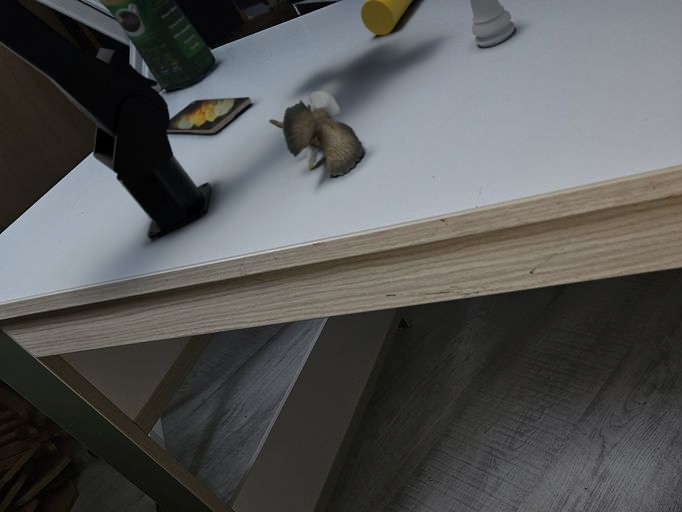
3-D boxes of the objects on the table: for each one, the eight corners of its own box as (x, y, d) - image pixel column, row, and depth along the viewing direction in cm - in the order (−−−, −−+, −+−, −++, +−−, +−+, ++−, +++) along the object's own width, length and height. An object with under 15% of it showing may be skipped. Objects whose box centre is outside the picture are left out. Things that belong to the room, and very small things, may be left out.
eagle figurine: (269, 163, 69) (281, 176, 61) (268, 86, 66) (280, 90, 59) (346, 166, 72) (366, 179, 64) (347, 92, 69) (368, 96, 61)
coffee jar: (226, 59, 109) (148, -66, 97) (197, 86, 104) (111, -42, 92) (186, 70, 114) (107, -47, 102) (157, 96, 109) (70, -24, 97)
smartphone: (194, 99, 97) (251, 96, 87) (197, 104, 98) (254, 101, 88) (156, 129, 94) (210, 129, 84) (159, 133, 95) (214, 134, 85)
